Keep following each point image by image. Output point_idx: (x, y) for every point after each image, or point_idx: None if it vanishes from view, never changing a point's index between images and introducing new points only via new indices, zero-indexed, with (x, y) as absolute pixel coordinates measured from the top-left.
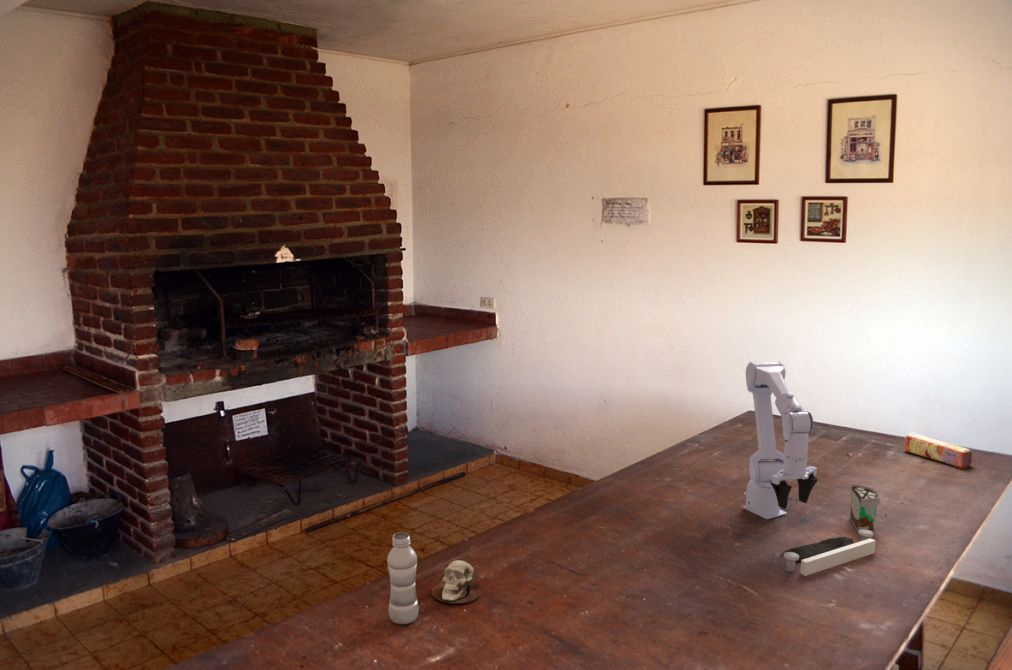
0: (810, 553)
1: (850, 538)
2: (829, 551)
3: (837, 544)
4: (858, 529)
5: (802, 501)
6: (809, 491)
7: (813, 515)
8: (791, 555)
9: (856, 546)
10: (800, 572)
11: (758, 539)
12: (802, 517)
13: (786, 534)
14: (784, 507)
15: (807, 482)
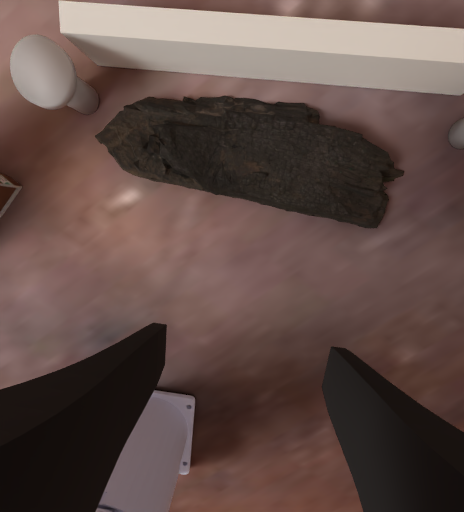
0: (325, 151)
1: (101, 139)
2: (330, 50)
3: (189, 128)
4: (11, 184)
5: (164, 345)
6: (104, 362)
7: (53, 337)
8: None
9: (184, 9)
10: (461, 94)
11: (328, 336)
12: (91, 347)
13: (228, 308)
14: (351, 353)
15: (51, 470)
